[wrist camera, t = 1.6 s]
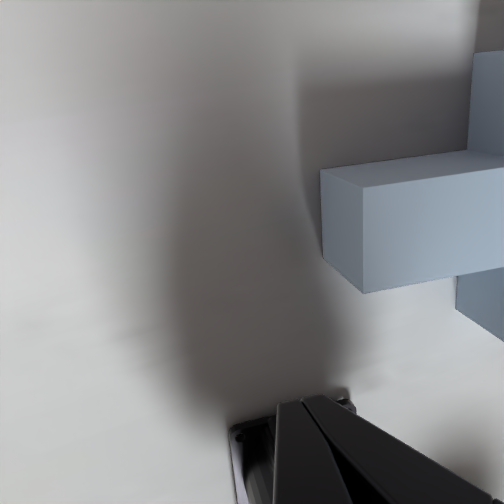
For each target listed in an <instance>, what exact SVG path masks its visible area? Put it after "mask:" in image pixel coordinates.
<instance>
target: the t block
mask: <svg viewBox="0 0 504 504" xmlns="http://www.w3.org/2000/svg"><path fill="white" fill-rule="evenodd" d="M320 189H321V215H322V242H323V259H325V260H326V261H327V262H328V263H329V264H330V265H331V266H332V267H334V268H335V269H336V270H337V271H338V272H339V273H340V274H341V275H343V276H344V277H345V278H346V279H347V280H348V281H349V282H350V283H352V284H353V285H354V286H355V287H356V288H357V289H358V290H359V291H361V292H362V293H363V294H366V293H371V292H376V291H381V290H386V289H391V288H397V287H402V286H407V285H412V284H417V283H423V282H428V281H433V280H438V279H443V278H449V277H454V276H458V282H457V296H456V310H458V311H459V312H461V313H462V314H464V315H465V316H467V317H468V318H470V319H471V320H473V321H474V322H475V323H477V324H478V325H480V326H481V327H483V328H484V329H486V330H487V331H489V332H490V333H492V334H493V335H495V336H496V337H497V338H499V339H500V340H502V341H503V342H504V50H498V51H489V52H480V53H474V55H473V69H472V83H471V98H470V112H469V126H468V140H467V150H461V151H453V152H446V153H439V154H431V155H424V156H416V157H409V158H402V159H394V160H387V161H380V162H372V163H365V164H357V165H350V166H343V167H335V168H328V169H321V170H320Z"/></svg>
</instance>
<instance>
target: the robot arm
mask: <svg viewBox="0 0 504 504" xmlns="http://www.w3.org/2000/svg"><path fill="white" fill-rule="evenodd" d="M347 408H348V409H347ZM240 433H243V434H242V435H241V436H237V437H236V435H238V434H240ZM229 442H230V450H231V457H232V465H233V472H234V480H235V488H236V495H237V503H238V504H504V502H502V501H500V500H499V499H497V498H495V499H492V496H491V495H490V494H488V493H487V492H485V491H483V490H482V489H480V488H478V487H477V486H475V485H473V484H472V483H470V482H468V481H467V480H465V479H463V478H462V477H460V476H458V475H457V474H455V473H453V472H452V471H450V470H448V469H447V468H445V467H443V466H442V465H440V464H438V463H437V462H435V461H433V460H432V459H430V458H428V457H427V456H425V455H423V454H422V453H420V452H418V451H417V450H415V449H413V448H412V447H410V446H408V445H407V444H405V443H403V442H402V441H400V440H398V439H397V438H395V437H393V436H392V435H390V434H388V433H387V432H385V431H383V430H382V429H380V428H378V427H377V426H375V425H373V424H372V423H370V422H368V421H367V420H365V419H363V418H362V417H360V416H358V415H357V414H356V407H355V406H354V404H353V403H352V402H351V401H350V400H348V399H343V400H339V401H333V400H332V399H330V398H328V397H327V396H325V395H323V394H315V395H311V396H306V397H303V398H301V400H298V399H293V400H289V401H284V402H280V403H279V404H278V405H277V415H274V416H270V417H265V418H261V419H257V420H252V421H248V422H244V423H239V424H236V425H234V426H233V427H231V428H230V430H229Z"/></svg>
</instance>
